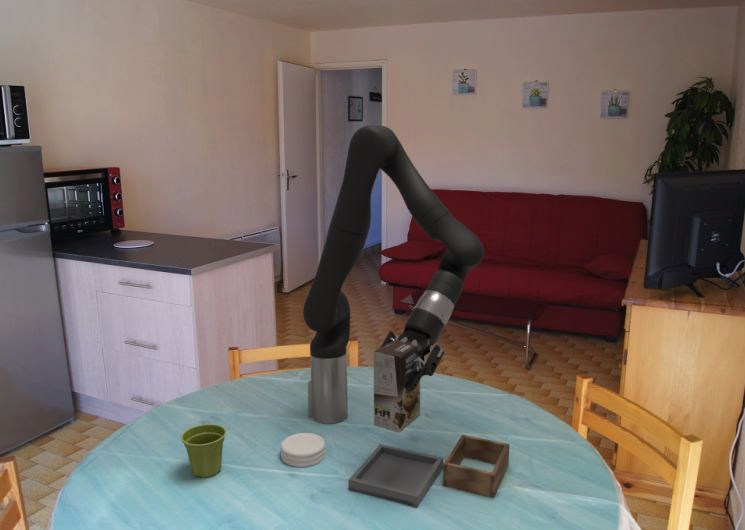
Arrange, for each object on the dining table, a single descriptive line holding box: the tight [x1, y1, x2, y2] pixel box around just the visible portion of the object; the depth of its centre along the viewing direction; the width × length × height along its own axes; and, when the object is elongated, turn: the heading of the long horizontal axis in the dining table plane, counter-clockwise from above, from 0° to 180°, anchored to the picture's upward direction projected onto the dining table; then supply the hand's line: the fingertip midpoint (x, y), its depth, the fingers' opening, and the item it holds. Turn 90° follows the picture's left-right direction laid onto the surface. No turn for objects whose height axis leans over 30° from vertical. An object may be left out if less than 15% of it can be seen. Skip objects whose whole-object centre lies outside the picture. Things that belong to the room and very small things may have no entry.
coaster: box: [280, 432, 326, 468], centre depth 138 cm, size 10×10×4 cm
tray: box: [348, 443, 444, 508], centre depth 129 cm, size 15×16×2 cm
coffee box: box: [373, 340, 421, 433], centre depth 124 cm, size 9×6×16 cm
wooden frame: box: [442, 434, 510, 499], centre depth 129 cm, size 11×14×5 cm
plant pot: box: [180, 423, 227, 479], centre depth 131 cm, size 9×9×9 cm
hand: (392, 384), depth 123 cm, fingers closed on coffee box, 7 cm apart
